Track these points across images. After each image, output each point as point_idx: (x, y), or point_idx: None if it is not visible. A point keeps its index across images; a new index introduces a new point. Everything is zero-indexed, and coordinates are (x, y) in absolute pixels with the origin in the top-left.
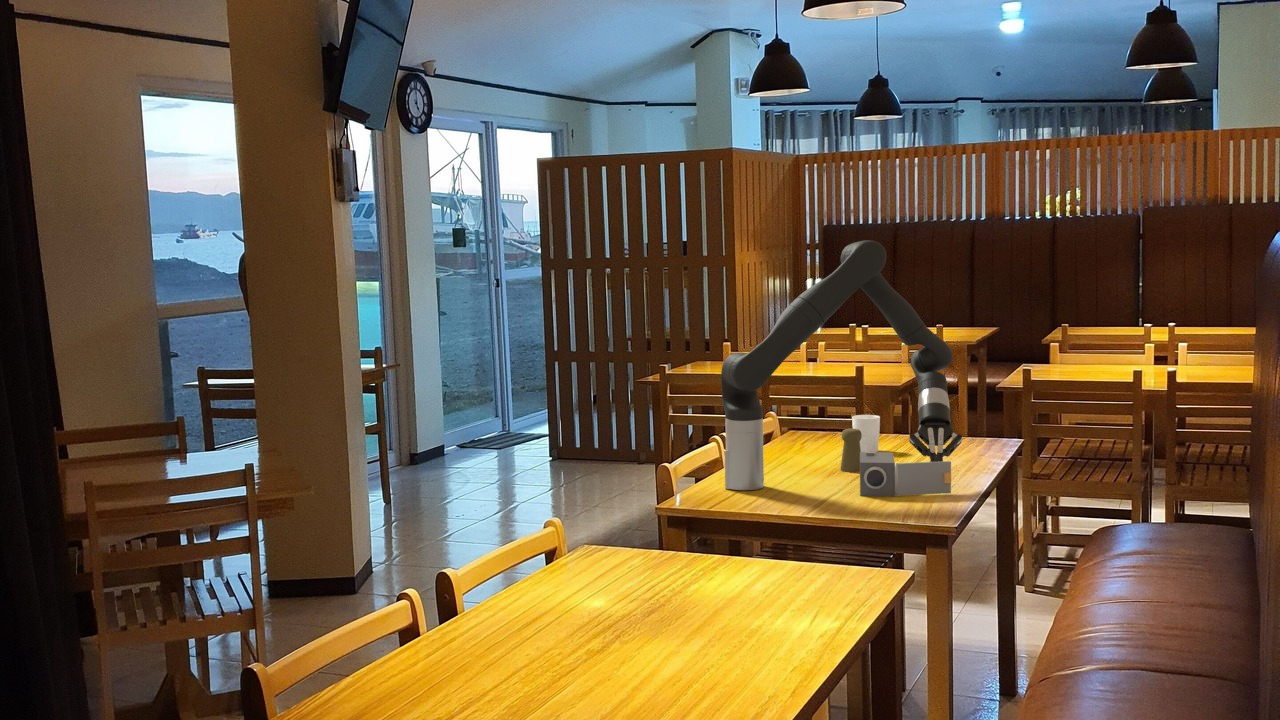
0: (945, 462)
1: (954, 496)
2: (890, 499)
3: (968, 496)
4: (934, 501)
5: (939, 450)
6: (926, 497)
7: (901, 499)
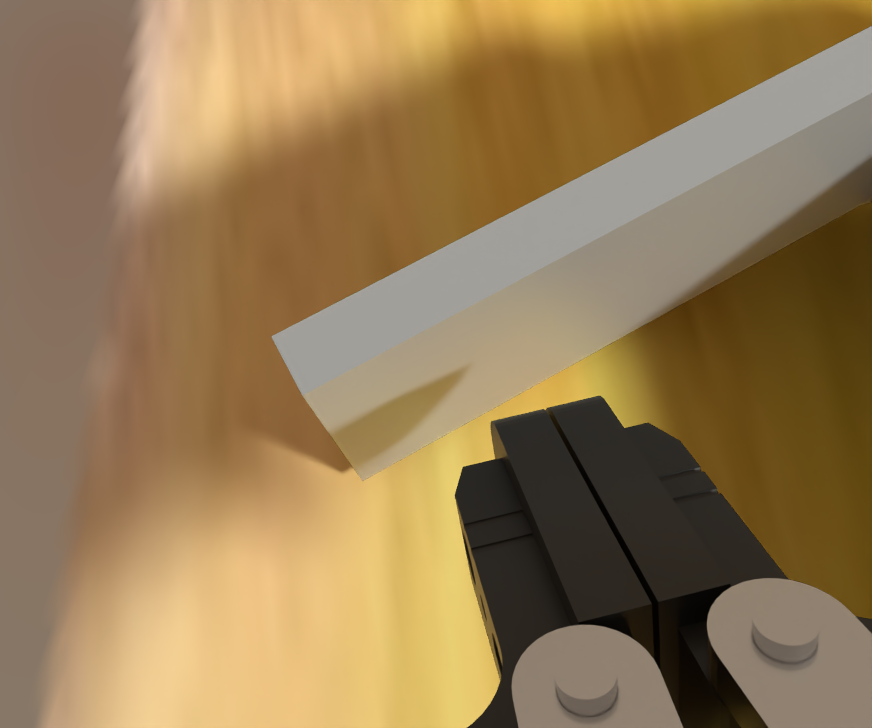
0: (374, 286)
1: None
2: None
3: (156, 433)
4: (456, 113)
5: (605, 664)
6: None
7: None
